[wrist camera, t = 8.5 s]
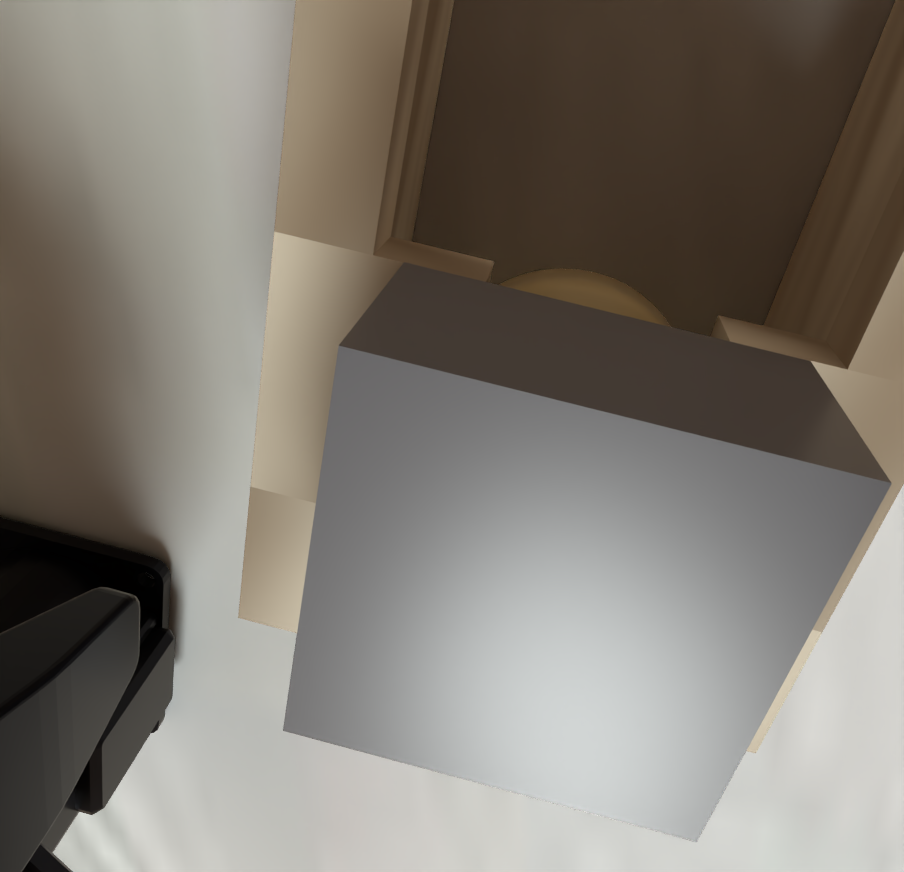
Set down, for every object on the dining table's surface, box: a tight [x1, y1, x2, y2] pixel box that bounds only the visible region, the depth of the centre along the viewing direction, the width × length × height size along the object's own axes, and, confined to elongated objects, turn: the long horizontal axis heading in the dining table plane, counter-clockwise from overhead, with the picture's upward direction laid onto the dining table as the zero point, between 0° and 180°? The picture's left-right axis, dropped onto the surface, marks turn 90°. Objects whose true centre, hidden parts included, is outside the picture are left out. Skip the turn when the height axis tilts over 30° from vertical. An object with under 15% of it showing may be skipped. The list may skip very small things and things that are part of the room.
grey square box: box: [283, 262, 892, 842], centre depth 13 cm, size 6×6×7 cm
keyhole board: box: [238, 0, 904, 753], centre depth 14 cm, size 10×16×6 cm, turn 169°
